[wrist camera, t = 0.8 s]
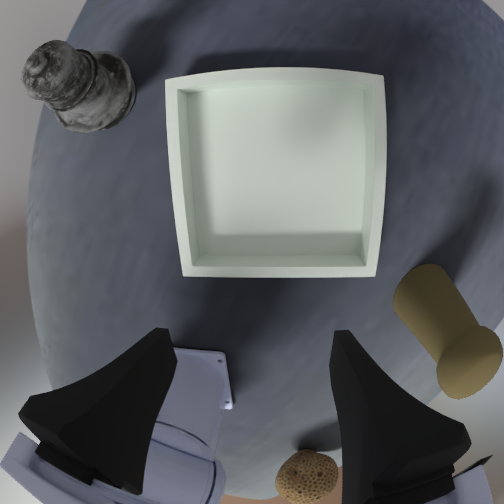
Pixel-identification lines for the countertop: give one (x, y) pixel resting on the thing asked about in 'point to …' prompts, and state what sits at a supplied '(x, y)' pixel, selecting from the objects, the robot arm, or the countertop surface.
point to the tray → (277, 171)
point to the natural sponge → (306, 477)
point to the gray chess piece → (80, 85)
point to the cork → (448, 330)
